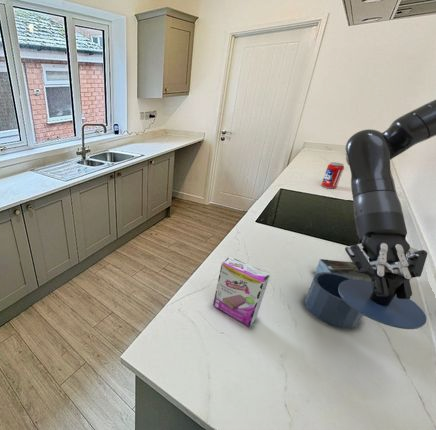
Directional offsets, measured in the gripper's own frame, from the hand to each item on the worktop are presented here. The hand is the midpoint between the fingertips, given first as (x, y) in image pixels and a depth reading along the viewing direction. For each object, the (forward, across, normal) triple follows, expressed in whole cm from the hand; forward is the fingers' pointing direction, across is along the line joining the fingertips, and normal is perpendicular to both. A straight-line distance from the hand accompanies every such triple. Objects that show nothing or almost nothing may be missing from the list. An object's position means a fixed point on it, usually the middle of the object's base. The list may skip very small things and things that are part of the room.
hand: (393, 297), depth 52 cm
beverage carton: (-7, +17, +38) cm, 42 cm away
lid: (+1, 0, +4) cm, 4 cm away
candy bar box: (+7, -24, +24) cm, 35 cm away
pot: (+3, +4, +28) cm, 28 cm away
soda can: (-75, +55, +106) cm, 141 cm away
